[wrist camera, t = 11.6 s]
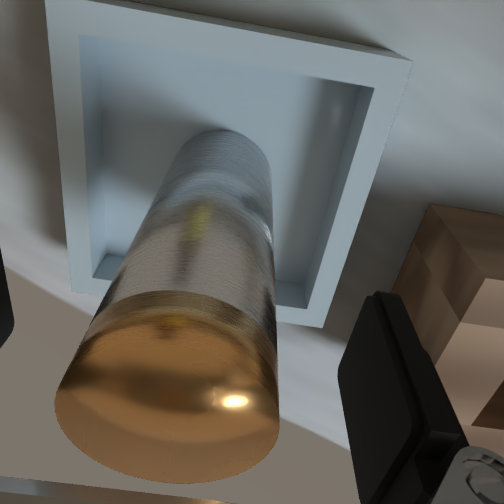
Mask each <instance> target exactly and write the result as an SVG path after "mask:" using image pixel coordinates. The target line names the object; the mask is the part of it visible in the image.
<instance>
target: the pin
mask: <svg viewBox="0 0 504 504" xmlns="http://www.w3.org/2000/svg"><path fill="white" fill-rule="evenodd" d="M55 413H56V417H57V420H58V422H59V424H60V427H61V429H62V430H63V432H64V433H65V434H66V436H67V437H68V438H69V440H71V442H72V443H73V444H74V445H75V446H76V447H77V448H79V449H80V450H81V451H82V452H83V453H85V454H86V455H88V456H89V457H90V458H92V459H94V460H95V461H97V462H99V463H101V464H102V465H104V466H107V467H109V468H111V469H113V470H115V471H118V472H121V473H124V474H126V475H130V476H133V477H137V478H141V479H145V480H150V481H157V482H163V483H177V484H178V483H180V484H191V483H204V482H211V481H216V480H221V479H225V478H228V477H231V476H235V475H237V474H239V473H242V472H244V471H246V470H248V469H250V468H251V467H253V466H255V465H256V464H257V463H259V462H260V461H261V460H262V459H264V458H265V457H266V456H267V455H268V454H269V452H270V451H271V449H272V448H273V447H274V445H275V442H276V440H277V438H278V434H279V392H278V360H277V328H276V297H275V265H274V233H273V201H272V174H271V168H270V165H269V162H268V160H267V158H266V156H265V155H264V153H263V151H262V150H261V149H260V148H259V147H258V146H257V145H256V144H255V143H254V142H253V141H251V140H250V139H249V138H247V137H245V136H243V135H241V134H239V133H236V132H232V131H228V130H211V131H206V132H203V133H200V134H198V135H196V136H194V137H192V138H191V139H189V140H188V141H187V142H186V143H185V144H184V145H183V146H182V147H181V148H180V149H179V151H178V153H177V154H176V156H175V158H174V160H173V162H172V164H171V166H170V168H169V170H168V172H167V174H166V176H165V178H164V180H163V182H162V184H161V186H160V188H159V190H158V192H157V194H156V196H155V198H154V200H153V202H152V204H151V206H150V207H149V209H148V211H147V213H146V215H145V217H144V219H143V221H142V223H141V225H140V227H139V229H138V231H137V233H136V235H135V237H134V239H133V241H132V243H131V245H130V247H129V249H128V251H127V253H126V255H125V257H124V259H123V261H122V263H121V265H120V267H119V269H118V271H117V272H116V274H115V276H114V278H113V280H112V282H111V284H110V286H109V288H108V290H107V292H106V294H105V296H104V298H103V300H102V302H101V304H100V306H99V308H98V310H97V312H96V314H95V316H94V318H93V320H92V322H91V324H90V326H89V328H88V330H87V332H86V334H85V336H84V338H83V339H82V341H81V343H80V345H79V348H78V349H77V351H76V353H75V355H74V357H73V360H72V361H71V363H70V365H69V367H68V369H67V371H66V373H65V375H64V377H63V379H62V381H61V383H60V385H59V387H58V390H57V392H56V397H55Z"/></svg>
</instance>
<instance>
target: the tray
mask: <svg viewBox="0 0 504 504" xmlns="http://www.w3.org/2000/svg"><path fill="white" fill-rule="evenodd" d="M45 9H46V20H47V31H48V42H49V53H50V64H51V75H52V86H53V97H54V107H55V118H56V129H57V140H58V151H59V162H60V173H61V184H62V195H63V206H64V217H65V228H66V238H67V249H68V260H69V271H70V282H71V292H76V293H83V294H90V295H97V296H105V294H106V292H107V290H108V288H109V286H110V284H111V282H112V280H113V278H114V276H115V274H116V272H117V271H118V269H119V267H120V265H121V263H122V261H123V259H124V257H125V255H126V253H127V251H128V249H129V247H130V245H131V243H132V241H133V239H134V237H135V235H136V233H137V231H138V229H139V227H140V225H141V223H142V221H143V219H144V217H145V215H146V213H147V211H148V209H149V207H150V206H151V204H152V202H153V200H154V198H155V196H156V194H157V192H158V190H159V188H160V186H161V184H162V182H163V180H164V178H165V176H166V174H167V172H168V170H169V168H170V166H171V164H172V162H173V160H174V158H175V156H176V154H177V153H178V151H179V149H180V148H181V147H182V146H183V145H184V144H185V143H186V142H187V141H188V140H189V139H191V138H192V137H194V136H196V135H198V134H200V133H203V132H206V131H211V130H228V131H232V132H236V133H239V134H241V135H243V136H245V137H247V138H249V139H250V140H251V141H253V142H254V143H255V144H256V145H257V146H258V147H259V148H260V149H261V150H262V151H263V153H264V155H265V156H266V158H267V160H268V162H269V165H270V168H271V174H272V201H273V233H274V265H275V297H276V321H277V322H284V323H291V324H298V325H305V326H311V327H318V328H323V325H324V322H325V319H326V316H327V313H328V310H329V307H330V304H331V302H332V299H333V296H334V293H335V290H336V287H337V284H338V281H339V278H340V275H341V272H342V270H343V267H344V264H345V261H346V258H347V255H348V252H349V249H350V246H351V243H352V240H353V238H354V235H355V232H356V229H357V226H358V223H359V220H360V217H361V214H362V211H363V208H364V205H365V203H366V200H367V197H368V194H369V191H370V188H371V185H372V182H373V179H374V176H375V173H376V171H377V168H378V165H379V162H380V159H381V156H382V153H383V150H384V147H385V144H386V141H387V138H388V136H389V133H390V130H391V127H392V124H393V121H394V118H395V115H396V112H397V109H398V106H399V104H400V101H401V98H402V95H403V92H404V89H405V86H406V83H407V80H408V77H409V74H410V71H411V69H412V66H413V63H414V61H412V60H410V59H408V58H406V57H404V56H402V55H400V54H398V53H396V52H394V51H392V50H387V49H382V48H377V47H371V46H366V45H361V44H355V43H350V42H345V41H339V40H334V39H329V38H324V37H318V36H313V35H308V34H302V33H297V32H292V31H286V30H281V29H276V28H270V27H265V26H260V25H254V24H249V23H244V22H238V21H233V20H228V19H223V18H217V17H212V16H207V15H201V14H196V13H191V12H185V11H180V10H175V9H169V8H164V7H159V6H153V5H148V4H143V3H137V2H132V1H127V0H45Z"/></svg>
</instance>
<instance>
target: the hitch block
mask: <svg viewBox="0 0 504 504" xmlns="http://www.w3.org/2000/svg"><path fill="white" fill-rule="evenodd" d="M391 293H393V294H398V295H400V297H401V298H402V301H403V303H404V305H405V308H406V310H407V312H408V314H409V317H410V319H411V321H412V324H413V326H414V328H415V331H416V333H417V335H418V338H419V340H420V342H421V344H422V347H423V349H425V350H426V351H427V352H428V354H429V355H430V357H431V359H432V362H433V364H434V366H435V368H436V371H437V373H438V375H439V377H440V380H441V382H442V384H443V386H444V389H445V391H446V393H447V395H448V398H449V400H450V402H451V404H452V407H453V409H454V411H455V413H456V416H457V418H458V420H459V422H460V425H461V427H462V429H463V432H464V434H465V436H466V438H467V441H468V443H469V445H470V446H477V447H482V448H485V449H488V450H491V451H493V452H495V453H496V454H498V455H500V456H502V457H503V458H504V216H502V215H496V214H490V213H484V212H477V211H471V210H465V209H459V208H453V207H447V206H441V205H435V204H429V206H428V208H427V210H426V213H425V215H424V217H423V220H422V222H421V224H420V227H419V229H418V231H417V233H416V236H415V238H414V240H413V243H412V245H411V247H410V249H409V252H408V254H407V256H406V259H405V261H404V263H403V265H402V268H401V270H400V272H399V275H398V277H397V279H396V282H395V284H394V286H393V288H392V291H391Z"/></svg>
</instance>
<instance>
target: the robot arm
mask: <svg viewBox="0 0 504 504" xmlns="http://www.w3.org/2000/svg"><path fill="white" fill-rule="evenodd" d="M13 327H14V316H13V311H12V306H11V301H10V295H9V291H8V286H7V280H6V275H5V270H4V265H3V260H2V254H1V249H0V348H1V347H2V345H3V344H4V343H5V341H6V340H7V339H8V337H9V336H10V334H11V333H12V331H13ZM338 383H339V389H340V394H341V400H342V405H343V411H344V417H345V422H346V428H347V433H348V439H349V444H350V450H351V455H352V461H353V466H354V472H355V477H356V483H357V488H358V494H359V499H360V503H361V504H504V458H503V457H502V456H500V455H498V454H496V453H495V452H493V451H491V450H488V449H485V448H482V447H477V446H470V445H469V443H468V441H467V438H466V436H465V434H464V432H463V429H462V427H461V425H460V422H459V420H458V418H457V416H456V413H455V411H454V409H453V407H452V404H451V402H450V400H449V398H448V395H447V393H446V391H445V389H444V386H443V384H442V382H441V380H440V377H439V375H438V373H437V371H436V368H435V366H434V364H433V362H432V359H431V357H430V355H429V354H428V352H427V351H426V350H425V349H423V347H422V344H421V342H420V340H419V338H418V335H417V333H416V331H415V328H414V326H413V324H412V321H411V319H410V317H409V314H408V312H407V310H406V308H405V305H404V303H403V301H402V298H401V297H400V295H398V294H393V293H387V292H380V291H377V292H375V293H374V295H373V296H367V297H366V299H365V301H364V304H363V306H362V309H361V312H360V314H359V317H358V319H357V322H356V324H355V327H354V329H353V332H352V334H351V337H350V339H349V342H348V344H347V347H346V349H345V352H344V354H343V357H342V359H341V362H340V364H339V367H338ZM0 504H235V503H227V502H218V501H210V500H202V499H194V498H186V497H177V496H169V495H160V494H152V493H143V492H135V491H126V490H118V489H109V488H100V487H92V486H84V485H74V484H66V483H57V482H49V481H41V480H32V479H23V478H14V477H5V476H0Z"/></svg>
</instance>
